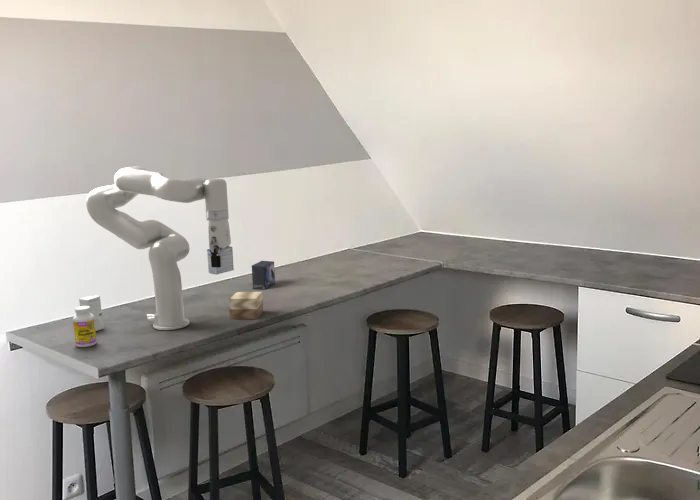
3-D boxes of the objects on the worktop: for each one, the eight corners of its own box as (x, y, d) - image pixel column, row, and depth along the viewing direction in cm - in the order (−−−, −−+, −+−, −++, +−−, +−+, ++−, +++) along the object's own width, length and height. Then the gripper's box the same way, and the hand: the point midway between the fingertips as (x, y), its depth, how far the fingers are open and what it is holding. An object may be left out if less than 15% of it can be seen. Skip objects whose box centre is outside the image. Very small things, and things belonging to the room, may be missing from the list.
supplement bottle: (76, 349, 234) (72, 311, 231) (74, 343, 240) (70, 306, 237) (98, 345, 237) (93, 308, 234) (95, 340, 243) (91, 303, 240)
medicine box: (225, 269, 252) (224, 245, 250) (234, 270, 249) (232, 246, 248) (208, 273, 246) (206, 248, 244) (216, 274, 243) (215, 250, 242)
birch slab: (230, 309, 261) (229, 298, 261) (237, 302, 271) (236, 292, 270) (257, 309, 260) (256, 298, 260) (262, 302, 270) (262, 291, 269)
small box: (265, 289, 304) (264, 265, 302) (252, 289, 306) (250, 265, 304) (276, 284, 314) (274, 260, 312) (262, 283, 316) (261, 260, 314)
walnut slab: (230, 319, 262) (229, 309, 262) (237, 312, 272) (237, 302, 271) (256, 319, 261) (256, 309, 260) (263, 312, 271) (262, 302, 270)
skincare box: (90, 333, 251) (87, 300, 249) (81, 331, 253) (78, 298, 251) (104, 328, 256) (100, 295, 254) (95, 327, 258) (91, 294, 256)
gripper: (219, 218, 235) (223, 269, 238) (235, 211, 252) (238, 259, 255) (198, 219, 236) (201, 269, 239) (215, 211, 253) (218, 259, 256)
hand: (220, 264), depth 247 cm, fingers closed on medicine box, 9 cm apart
